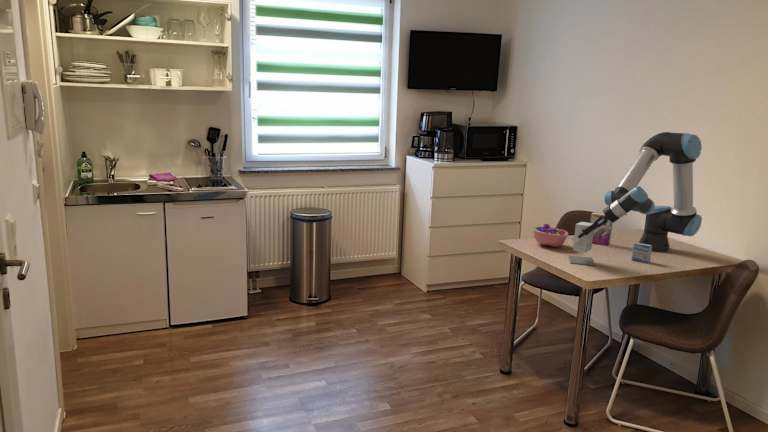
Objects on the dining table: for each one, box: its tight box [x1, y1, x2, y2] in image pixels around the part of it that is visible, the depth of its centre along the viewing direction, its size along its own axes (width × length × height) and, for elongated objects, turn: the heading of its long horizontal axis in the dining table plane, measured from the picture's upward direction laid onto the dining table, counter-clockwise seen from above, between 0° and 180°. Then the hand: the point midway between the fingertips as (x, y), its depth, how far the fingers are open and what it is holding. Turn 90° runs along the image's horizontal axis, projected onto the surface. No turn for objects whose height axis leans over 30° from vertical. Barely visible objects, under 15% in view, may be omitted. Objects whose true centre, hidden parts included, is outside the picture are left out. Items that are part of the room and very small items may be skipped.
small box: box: [572, 221, 594, 253], centre depth 273 cm, size 8×6×13 cm
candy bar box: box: [589, 211, 614, 247], centre depth 311 cm, size 11×5×16 cm, turn 58°
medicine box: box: [631, 241, 653, 264], centre depth 279 cm, size 8×4×9 cm, turn 53°
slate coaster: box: [568, 255, 596, 267], centre depth 276 cm, size 11×13×1 cm
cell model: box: [532, 223, 569, 248], centre depth 302 cm, size 17×20×11 cm
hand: (576, 239), depth 275 cm, fingers closed on small box, 9 cm apart
